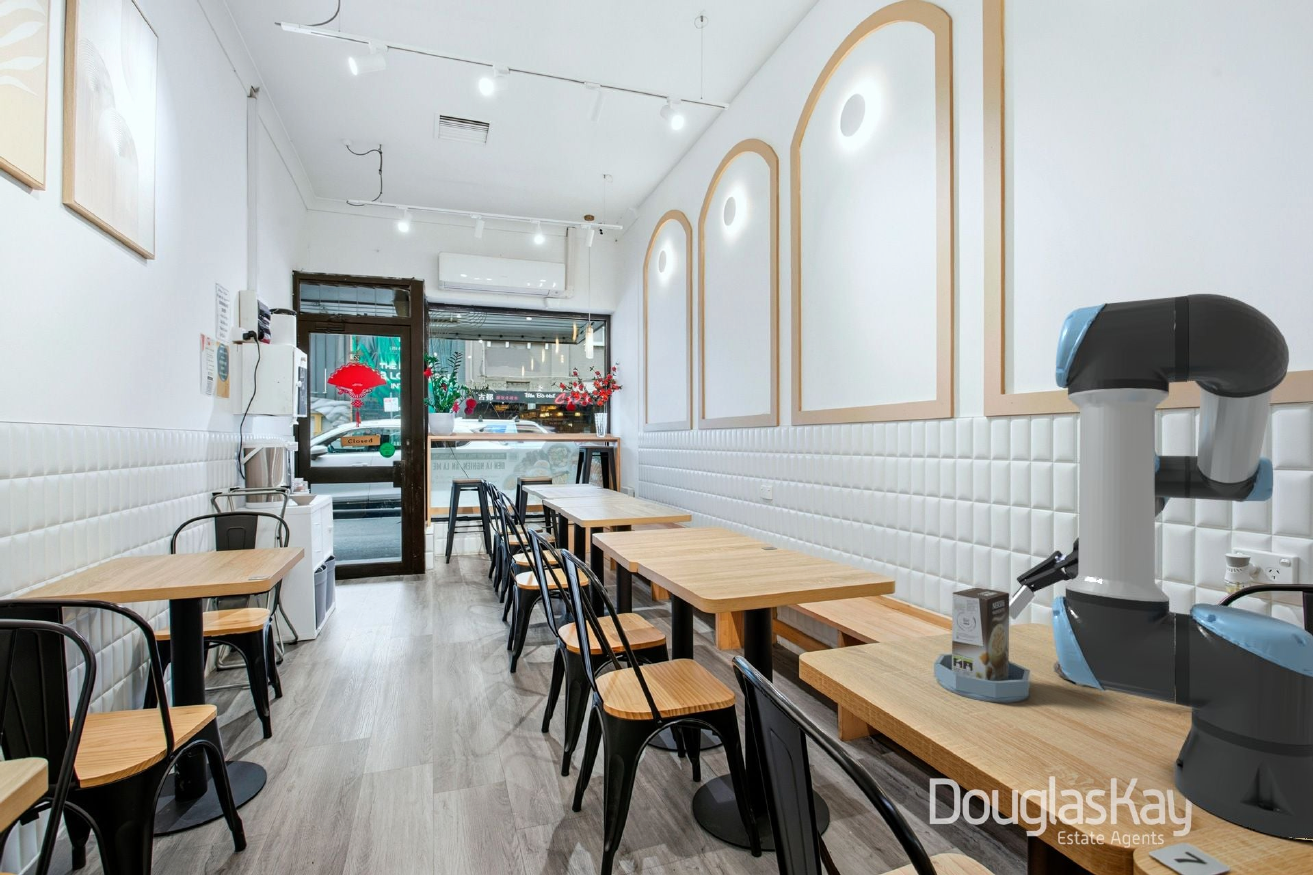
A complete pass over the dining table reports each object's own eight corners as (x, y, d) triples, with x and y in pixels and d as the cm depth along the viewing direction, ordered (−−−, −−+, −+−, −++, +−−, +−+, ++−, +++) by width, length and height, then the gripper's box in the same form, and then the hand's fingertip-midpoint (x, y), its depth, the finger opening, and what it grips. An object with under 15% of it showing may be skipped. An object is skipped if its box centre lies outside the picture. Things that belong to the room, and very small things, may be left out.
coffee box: (986, 691, 110) (986, 599, 110) (950, 680, 115) (950, 592, 115) (1010, 679, 115) (1010, 592, 115) (975, 669, 120) (975, 586, 120)
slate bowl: (1049, 699, 109) (1049, 679, 109) (972, 705, 106) (972, 684, 106) (988, 669, 123) (988, 651, 123) (920, 673, 121) (920, 655, 121)
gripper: (1182, 567, 108) (1108, 659, 104) (1062, 545, 132) (999, 619, 129) (1156, 537, 107) (1081, 629, 104) (1040, 520, 131) (977, 594, 128)
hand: (1036, 624), depth 116 cm, fingers open, 13 cm apart
